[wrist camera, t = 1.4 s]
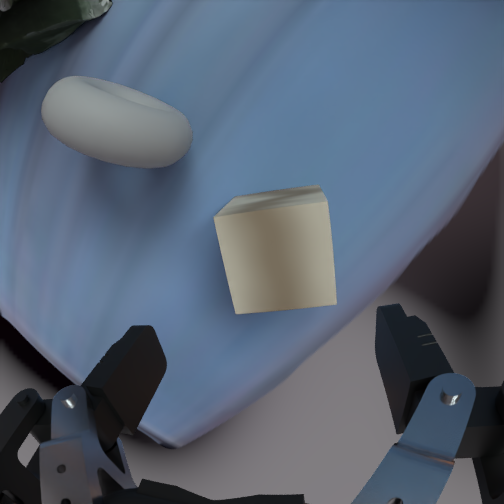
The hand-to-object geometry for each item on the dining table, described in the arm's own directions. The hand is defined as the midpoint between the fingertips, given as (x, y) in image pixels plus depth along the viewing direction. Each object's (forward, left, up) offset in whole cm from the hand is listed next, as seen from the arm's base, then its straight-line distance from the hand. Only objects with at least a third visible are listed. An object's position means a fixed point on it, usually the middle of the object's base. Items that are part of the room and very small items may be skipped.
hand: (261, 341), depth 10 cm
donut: (+8, -10, -13) cm, 18 cm away
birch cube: (0, 0, -13) cm, 13 cm away
